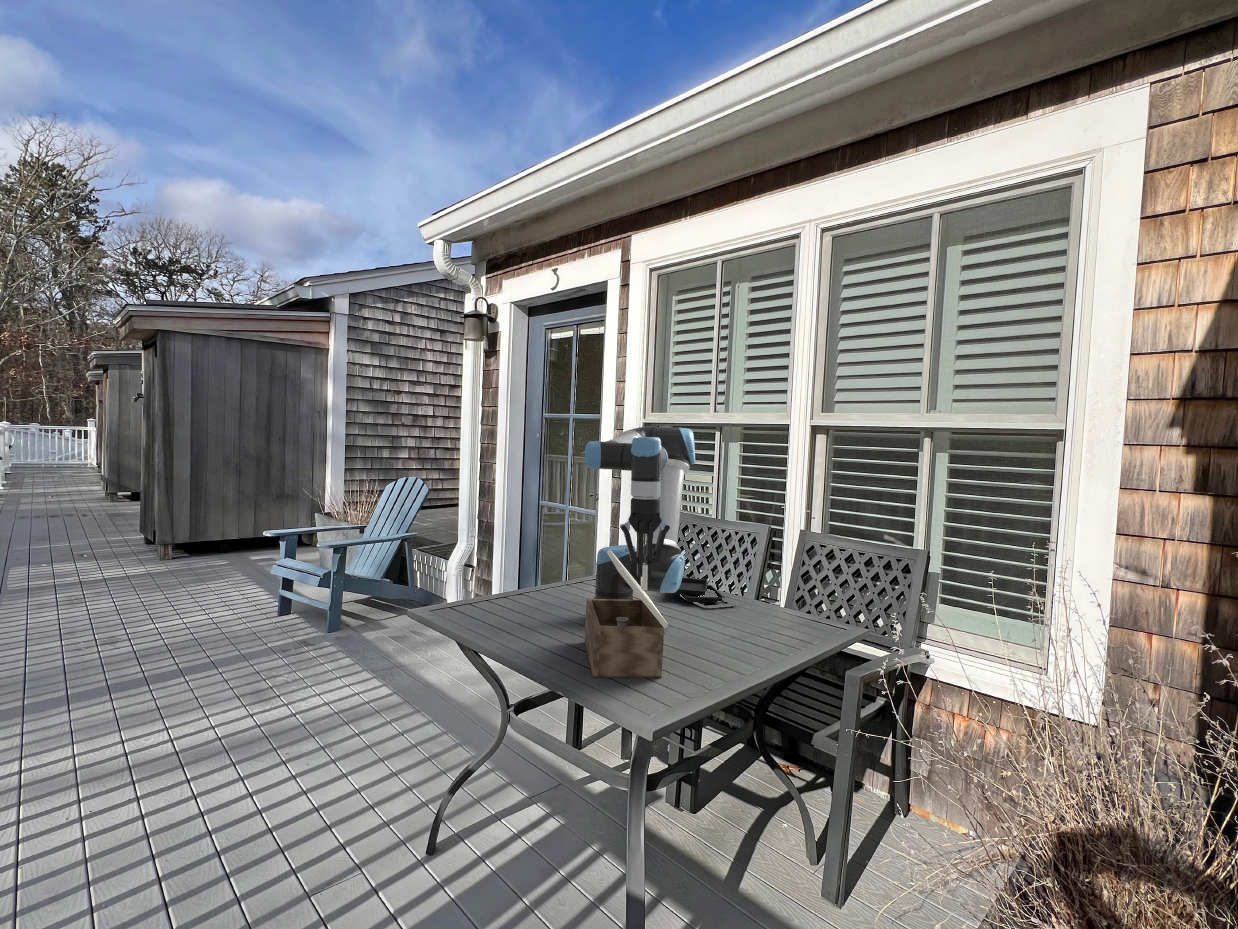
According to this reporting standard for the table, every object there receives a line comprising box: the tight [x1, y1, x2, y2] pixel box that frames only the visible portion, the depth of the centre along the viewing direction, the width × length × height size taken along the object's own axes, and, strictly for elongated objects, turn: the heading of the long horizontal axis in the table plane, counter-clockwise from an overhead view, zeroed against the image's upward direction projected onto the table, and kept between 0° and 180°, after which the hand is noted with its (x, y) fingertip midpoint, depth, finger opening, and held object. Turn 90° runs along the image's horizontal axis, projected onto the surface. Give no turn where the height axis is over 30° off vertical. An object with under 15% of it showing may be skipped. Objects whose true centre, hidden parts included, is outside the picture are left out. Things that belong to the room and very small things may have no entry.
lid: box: [607, 549, 669, 629], centre depth 166 cm, size 17×28×1 cm
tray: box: [674, 577, 726, 604], centre depth 234 cm, size 30×23×5 cm
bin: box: [584, 598, 665, 679], centre depth 167 cm, size 16×26×12 cm, turn 7°
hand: (643, 589), depth 167 cm, fingers closed
